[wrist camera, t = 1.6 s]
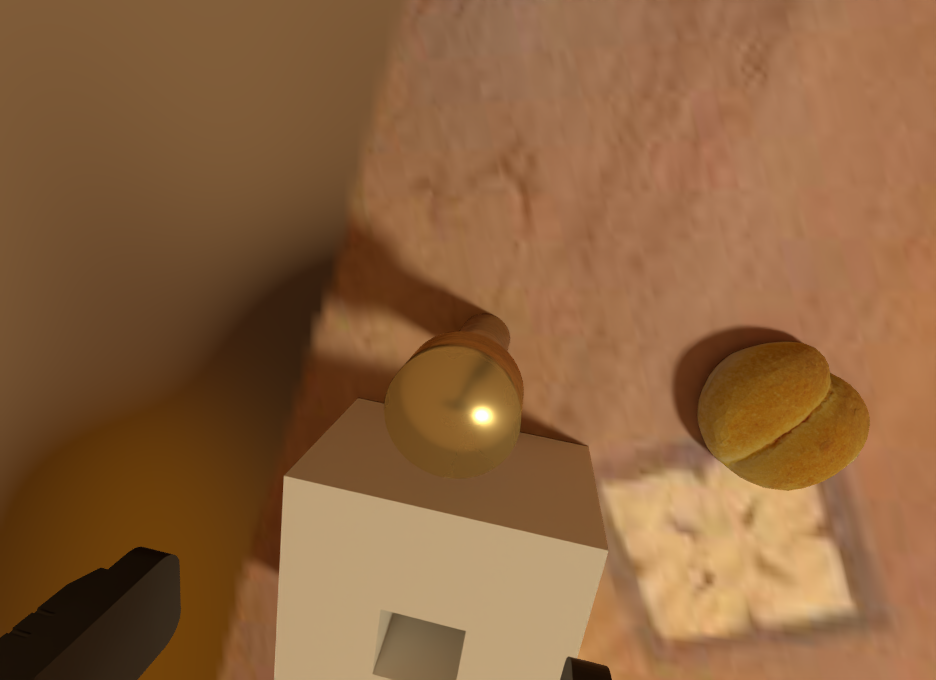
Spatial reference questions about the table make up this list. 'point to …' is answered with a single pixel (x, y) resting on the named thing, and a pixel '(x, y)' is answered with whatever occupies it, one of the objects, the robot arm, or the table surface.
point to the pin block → (434, 561)
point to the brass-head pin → (458, 401)
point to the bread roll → (781, 416)
